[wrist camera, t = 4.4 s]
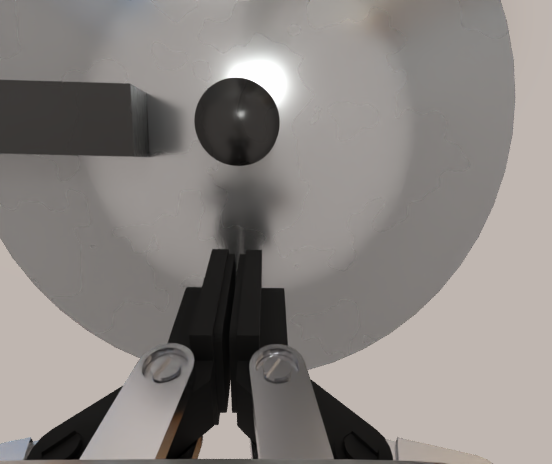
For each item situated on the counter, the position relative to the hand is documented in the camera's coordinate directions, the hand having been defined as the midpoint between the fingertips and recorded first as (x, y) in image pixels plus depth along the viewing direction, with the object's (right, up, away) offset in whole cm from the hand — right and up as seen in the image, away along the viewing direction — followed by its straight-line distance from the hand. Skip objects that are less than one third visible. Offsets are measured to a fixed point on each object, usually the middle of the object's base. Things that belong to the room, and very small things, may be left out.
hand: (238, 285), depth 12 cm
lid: (-1, +6, 0) cm, 6 cm away
